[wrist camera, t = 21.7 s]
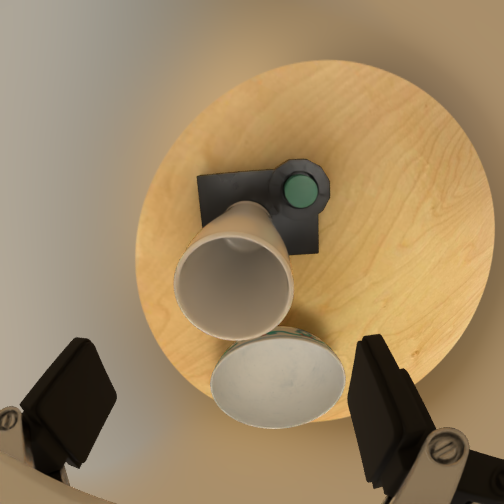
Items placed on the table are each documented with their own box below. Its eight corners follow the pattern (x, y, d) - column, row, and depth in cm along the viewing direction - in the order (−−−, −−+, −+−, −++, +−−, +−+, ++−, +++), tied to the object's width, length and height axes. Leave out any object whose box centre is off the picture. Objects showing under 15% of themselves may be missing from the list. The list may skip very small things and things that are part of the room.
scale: (198, 166, 29) (191, 167, 26) (322, 158, 28) (328, 158, 25) (208, 255, 32) (203, 265, 29) (324, 248, 31) (330, 258, 29)
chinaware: (230, 392, 39) (225, 431, 32) (207, 307, 34) (195, 345, 27) (332, 380, 38) (342, 419, 31) (332, 292, 33) (348, 328, 26)
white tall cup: (256, 268, 31) (250, 360, 17) (202, 234, 30) (152, 304, 16) (293, 216, 29) (321, 276, 15) (236, 179, 28) (210, 204, 14)
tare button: (282, 174, 27) (284, 176, 25) (313, 173, 26) (317, 174, 25) (284, 205, 27) (285, 208, 26) (315, 204, 27) (318, 207, 26)
